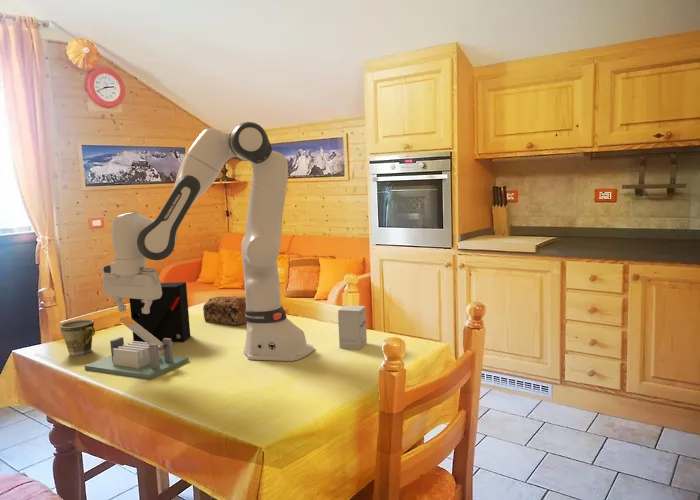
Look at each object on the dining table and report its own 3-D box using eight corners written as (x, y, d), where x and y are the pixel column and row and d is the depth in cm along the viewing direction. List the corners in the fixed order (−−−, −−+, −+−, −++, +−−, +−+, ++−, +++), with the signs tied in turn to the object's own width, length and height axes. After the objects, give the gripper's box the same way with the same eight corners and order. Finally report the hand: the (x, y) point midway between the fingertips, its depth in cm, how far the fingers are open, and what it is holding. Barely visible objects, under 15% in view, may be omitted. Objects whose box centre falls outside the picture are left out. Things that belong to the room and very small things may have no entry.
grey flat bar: (166, 348, 161) (167, 345, 161) (157, 352, 158) (158, 349, 157) (127, 318, 166) (128, 315, 165) (118, 321, 162) (119, 318, 162)
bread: (256, 320, 212) (254, 296, 211) (237, 327, 203) (235, 301, 202) (222, 316, 222) (220, 292, 221) (202, 322, 213) (200, 297, 212)
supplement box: (360, 349, 170) (359, 311, 169) (338, 348, 173) (337, 310, 171) (367, 342, 177) (366, 305, 176) (346, 341, 180) (344, 304, 178)
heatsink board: (188, 361, 166) (186, 334, 165) (150, 379, 152) (147, 350, 151) (126, 353, 177) (123, 328, 176) (84, 369, 162) (82, 342, 161)
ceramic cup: (56, 355, 178) (53, 325, 176) (83, 346, 186) (80, 318, 185) (83, 359, 172) (80, 329, 171) (109, 350, 181) (106, 321, 179)
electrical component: (192, 335, 195) (188, 281, 192) (181, 343, 185) (176, 286, 182) (146, 335, 197) (141, 282, 194) (132, 344, 187) (127, 287, 184)
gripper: (165, 266, 158) (168, 312, 160) (114, 264, 167) (117, 307, 168) (149, 270, 153) (152, 317, 155) (97, 267, 161) (101, 312, 163)
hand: (134, 312), depth 162 cm, fingers open, 8 cm apart
